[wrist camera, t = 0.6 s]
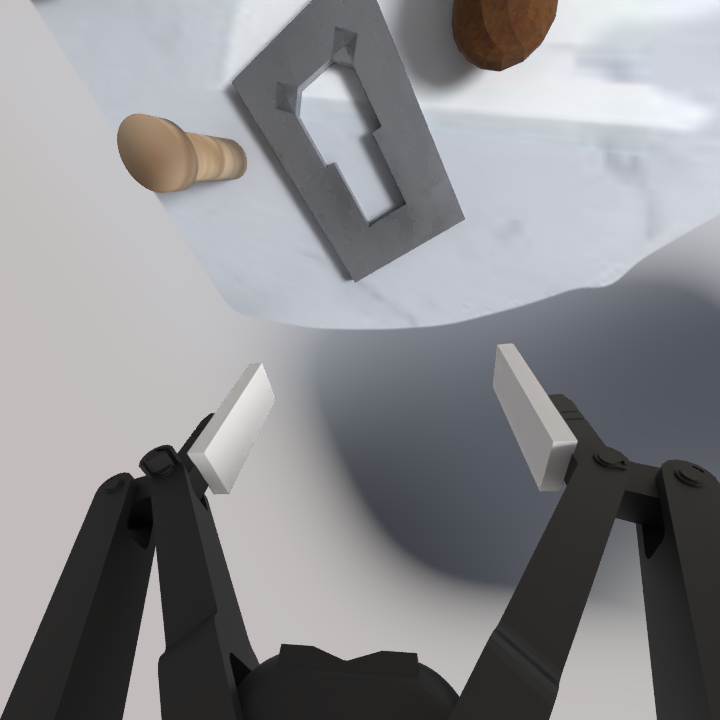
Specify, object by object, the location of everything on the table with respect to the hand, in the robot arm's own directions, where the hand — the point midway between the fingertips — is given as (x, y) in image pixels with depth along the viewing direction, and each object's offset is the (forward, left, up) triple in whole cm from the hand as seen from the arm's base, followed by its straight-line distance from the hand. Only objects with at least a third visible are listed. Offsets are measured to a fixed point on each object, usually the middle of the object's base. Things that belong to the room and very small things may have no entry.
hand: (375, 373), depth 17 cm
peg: (-18, -9, -24) cm, 31 cm away
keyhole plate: (-11, +3, -24) cm, 27 cm away
